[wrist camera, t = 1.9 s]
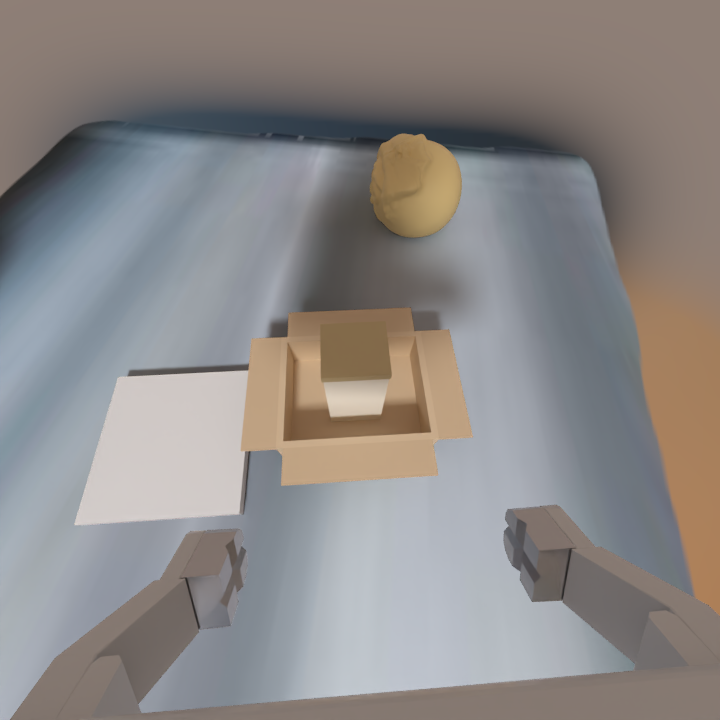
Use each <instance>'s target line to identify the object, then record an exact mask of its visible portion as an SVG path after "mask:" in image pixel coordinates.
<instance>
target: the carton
mask: <svg viewBox="0 0 720 720" xmlns="http://www.w3.org/2000/svg"><path fill="white" fill-rule="evenodd" d="M377 321H386V329H387V337H388V346H389V354H390V362H391V371H392V376H391V379H389V382H388V386H387V391H386V395H385V400H384V404H383V409H382V413H381V418H380V419H374V420H356V421H339V422H331V417H330V413H329V408H328V403H327V398H326V393H325V388H324V384H323V383H322V382H321V356H320V324H333V323H355V322H377ZM472 437H473V435H472V431H471V426H470V422H469V417H468V413H467V408H466V404H465V399H464V395H463V390H462V386H461V381H460V377H459V372H458V368H457V363H456V359H455V354H454V350H453V345H452V341H451V336H450V332H449V330H428V331H414V325H413V318H412V312H411V307H410V308H387V309H364V310H341V311H318V312H295V313H289V315H288V337H278V338H256V339H252V340H251V350H250V360H249V370H248V380H247V390H246V400H245V410H244V420H243V430H242V440H241V450H240V451H241V452H243V451H259V450H276V449H277V451H278V452H279V453H280V454H281V455H282V479H281V485H282V486H284V485H300V484H315V483H330V482H346V481H361V480H376V479H392V478H407V477H422V476H438V470H437V464H436V458H435V452H434V446H433V445H434V444H435V443H436V442H437V441H438V440H441V439H457V438H472Z"/></svg>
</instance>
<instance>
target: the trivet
mask: <svg viewBox="0 0 720 720" xmlns="http://www.w3.org/2000/svg"><path fill="white" fill-rule="evenodd" d="M247 380H248V370H247V371H227V372H208V373H188V374H168V375H148V376H129V377H118V379H117V383H116V386H115V389H114V393H113V396H112V399H111V403H110V406H109V410H108V413H107V416H106V420H105V423H104V426H103V430H102V433H101V436H100V440H99V443H98V446H97V450H96V453H95V457H94V460H93V463H92V467H91V470H90V473H89V477H88V480H87V483H86V487H85V490H84V493H83V497H82V500H81V503H80V507H79V510H78V514H77V517H76V520H75V524H74V525H98V524H112V523H127V522H141V521H156V520H171V519H185V518H200V517H214V516H229V515H243V511H244V500H245V489H246V478H247V466H248V455H249V451H243V452H241V451H240V450H241V440H242V430H243V420H244V410H245V400H246V390H247Z"/></svg>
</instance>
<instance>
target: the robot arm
mask: <svg viewBox="0 0 720 720" xmlns="http://www.w3.org/2000/svg"><path fill="white" fill-rule="evenodd" d="M505 520H506V522H507V524H508V525H509V526H508V527H507V528H506V530H505V531H504V540H503V541H504V546H505V551H506V554H507V556H508V559H509V561H510V563H511V564H512V566H513V567H515V568H516V569H517V570H519V571H520V572H521V573H520V581H521V583H522V585H523V586H524V588H525V590H526V592H527V594H528V596H529V597H530V599H531V601H532V602H541V601H562V600H563V603H564V604H565V605H566V606H568V607H569V608H570V609H571V610H572V611H573V612H575V613H576V614H577V615H578V616H579V617H581V618H582V619H583V620H584V621H585V622H586V623H588V624H589V625H590V626H591V627H592V628H594V629H595V630H596V631H597V632H598V633H599V634H601V635H602V636H603V637H604V638H605V639H606V640H608V641H609V642H610V643H611V644H612V645H614V646H615V647H616V648H617V649H618V650H619V651H621V652H622V653H623V654H624V655H625V656H627V657H628V658H629V659H630V660H631V661H632V662H634V663H635V666H634V670H633V671H624V672H613V673H601V674H589V675H578V676H566V677H555V678H543V679H532V680H521V681H510V682H498V683H487V684H476V685H464V686H453V687H442V688H430V689H419V690H407V691H396V692H384V693H372V694H360V695H349V696H337V697H325V698H314V699H302V700H290V701H279V702H267V703H256V704H244V705H233V706H221V707H210V708H198V709H187V710H175V711H163V712H152V713H141V711H140V708H139V705H138V704H139V703H140V702H141V700H142V699H143V698H144V697H145V696H146V694H147V693H148V692H149V691H150V690H151V688H152V687H153V686H154V685H155V684H156V683H157V681H158V680H159V679H160V678H161V677H162V675H163V674H164V673H165V672H166V671H167V669H168V668H169V667H170V666H171V665H172V663H173V662H174V661H175V660H176V659H177V658H178V656H179V655H180V654H181V653H182V652H183V650H184V649H185V648H186V647H187V646H188V644H189V643H190V642H191V641H192V640H193V638H194V637H195V636H196V635H197V634H198V633H199V630H200V629H209V628H218V627H227V626H231V624H232V621H233V618H234V615H235V612H236V608H237V605H238V602H239V601H238V596H237V592H238V591H239V590H240V589H241V588H242V587H243V586H244V582H245V579H246V574H247V567H248V559H247V552H246V550H245V549H244V548H243V547H242V543H243V540H244V536H243V532H242V530H241V529H219V530H207V531H190V532H189V533H188V534H186V535H185V537H184V539H183V541H182V542H181V544H180V546H179V547H178V549H177V551H176V553H175V554H174V556H173V558H172V560H171V561H170V563H169V565H168V566H167V568H166V570H165V572H164V573H163V575H162V577H161V578H160V580H157V581H153V582H152V583H151V584H149V585H148V586H147V587H146V588H144V589H143V590H142V591H140V592H139V593H138V594H137V595H135V596H134V597H133V598H131V599H130V600H129V601H128V602H126V603H125V604H124V605H122V606H121V607H120V608H119V609H117V610H116V611H115V612H113V613H112V614H111V615H110V616H108V617H107V618H106V619H105V620H103V621H102V622H101V623H99V624H98V625H97V626H96V627H94V628H93V629H92V630H90V631H89V632H88V633H87V634H85V635H84V636H83V637H81V638H80V639H79V640H78V641H76V642H75V643H74V644H72V645H71V646H70V647H69V648H67V649H66V650H65V651H64V652H62V653H61V654H60V655H58V656H57V657H56V658H55V659H54V660H53V661H52V663H51V664H50V666H49V667H48V668H47V670H46V671H45V672H44V674H43V675H42V677H41V678H40V679H39V681H38V682H37V683H36V685H35V686H34V687H33V689H32V690H31V692H30V693H29V694H28V696H27V697H26V698H25V700H24V701H23V703H22V704H21V705H20V707H19V708H18V709H17V711H16V712H15V714H14V715H13V716H12V718H11V719H10V720H720V616H719V615H718V614H717V613H716V612H715V611H714V610H713V609H712V608H711V607H709V605H707V604H705V603H703V602H701V601H699V600H698V599H696V598H694V597H692V596H690V595H688V594H687V593H685V592H683V591H681V590H679V589H677V588H676V587H674V586H672V585H670V584H668V583H666V582H664V581H663V580H661V579H659V578H657V577H655V576H653V575H652V574H650V573H648V572H646V571H644V570H642V569H641V568H639V567H637V566H635V565H633V564H631V563H630V562H628V561H626V560H624V559H622V558H620V557H619V556H617V555H615V554H613V553H611V552H609V551H608V550H606V549H604V548H602V547H595V546H594V545H593V544H592V542H591V541H590V540H589V539H588V538H587V537H586V536H585V534H584V533H583V532H582V531H581V530H580V529H579V528H578V526H577V525H576V524H575V523H574V522H573V521H572V520H571V518H570V517H569V516H568V515H567V514H566V513H565V512H564V511H563V509H562V508H561V507H559V506H558V505H548V506H540V507H526V508H514V509H508V510H507V512H506V516H505Z"/></svg>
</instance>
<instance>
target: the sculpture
mask: <svg viewBox="0 0 720 720" xmlns="http://www.w3.org/2000/svg"><path fill="white" fill-rule="evenodd" d="M371 177H372V182H371V184H370V192H371V194H372V196H371V198H370V201H371V203H372V204H373V205H374V212H375V214H376V216H377V218H378V220H380V221H381V222H383V223H384V225H385V226H386V227H387V228H388V229H389V230H391V231H392V232H394V233H395V234H397V235H400V236H404V237H411V238H416V237H424V236H428V235H431V234H434V233H436V232H438V231H439V230H441V229H442V228H443V227H444V226H445V225H446V224H447V223H448V222H449V221H450V219H451V218H452V217H453V215H454V213H455V211H456V209H457V207H458V204H459V201H460V196H461V189H462V179H461V172H460V168H459V165H458V163H457V161H456V159H455V157H454V156H453V155H452V154H451V152H450V151H449V150H448V149H446V148H445V147H444V146H442V145H440V144H438V143H436V142H433V141H429V140H427V139H426V138H425V136H424V135H423V134H419V135H416V136H413V135H408V134H399V135H397V136H395V137H393V138H392V139H391V140H389V141H387V142H385V143H382V144H381V146H380V148H379V151H378V154H377V161H376V162H375V163H374V169H373V171H372V176H371Z"/></svg>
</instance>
